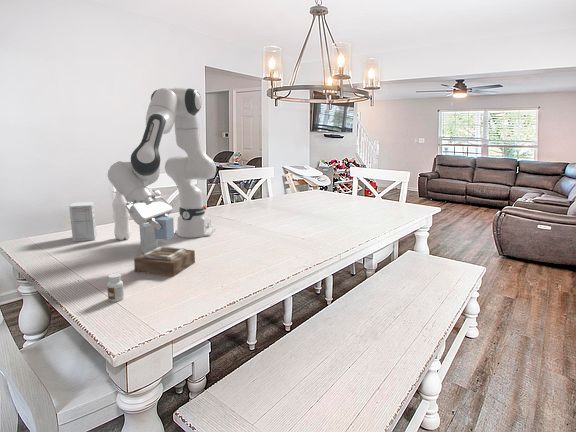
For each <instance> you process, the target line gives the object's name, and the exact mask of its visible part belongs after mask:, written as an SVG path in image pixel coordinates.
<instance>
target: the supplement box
mask: <svg viewBox="0 0 576 432" xmlns="http://www.w3.org/2000/svg"><path fill="white" fill-rule="evenodd" d="M68 207H69V217H70V226H71V235H72V242H74V243H75V242H83V241H84V242H85V241H86V242H87V241H96V238H97V236H98V235H97V234H98V233H97V226H96V225H97V224H96V215H95V204H94V201H87V202H83V201H82V202H80V201H79V202H72V203H71V204H70V205H69V206H68Z"/></svg>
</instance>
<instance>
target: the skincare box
mask: <svg viewBox="0 0 576 432" xmlns="http://www.w3.org/2000/svg"><path fill="white" fill-rule="evenodd" d="M138 227H139V236H140V237H139V238H140V239H139V240H140V252H141V253H143V254H145V253H147V252H149V251H151V250H153V249H155V248H157V247H159V239H155V231H154V226H152V225H150V224H149V223H145V224H142V225H138Z"/></svg>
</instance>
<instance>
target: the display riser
mask: <svg viewBox="0 0 576 432" xmlns="http://www.w3.org/2000/svg"><path fill="white" fill-rule="evenodd" d="M195 255H196V253H195V250H193V249H192V250H191V249H186V248H181V247H173V246H166V245H165V246H164V245H163V246H162V245H160V246H158V247H157V248H155V249H153V250H151V251H149V252H147V253H143V254H141V255H139V256H137V257H135V258H134V259H133V265H134V272H135V273H142V274H143V273H144V274H151V275H157V276H169V277H175V276H178V274H180V273H181V272H183V271H184V270H186V269H187V268H189V267H190V266H191V265H194V264H195V263H196V260H195V259H196V257H195Z"/></svg>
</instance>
